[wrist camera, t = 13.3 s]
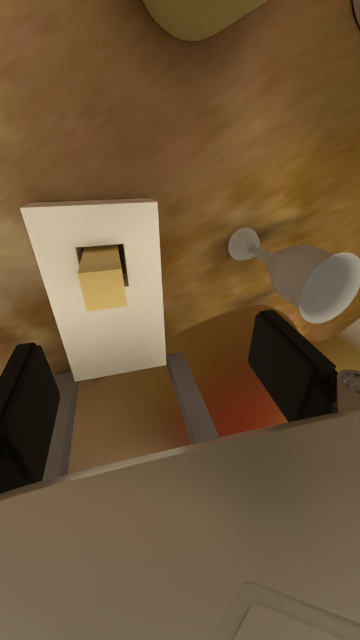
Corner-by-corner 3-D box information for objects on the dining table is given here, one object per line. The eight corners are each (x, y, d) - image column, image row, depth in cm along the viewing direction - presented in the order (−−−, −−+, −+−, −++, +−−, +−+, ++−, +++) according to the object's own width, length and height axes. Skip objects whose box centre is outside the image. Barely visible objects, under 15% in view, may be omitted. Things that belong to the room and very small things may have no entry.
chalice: (260, 264, 41) (349, 317, 26) (221, 269, 40) (292, 328, 25) (265, 217, 37) (373, 247, 23) (223, 221, 36) (308, 257, 21)
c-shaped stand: (37, 323, 37) (-139, 726, 10) (181, 304, 41) (322, 545, 15) (60, 387, 43) (-9, 729, 17) (182, 364, 48) (280, 604, 21)
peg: (85, 242, 33) (77, 273, 23) (116, 240, 34) (121, 269, 24) (91, 271, 35) (86, 311, 25) (120, 268, 36) (127, 306, 26)
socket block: (31, 202, 29) (20, 207, 25) (150, 197, 32) (157, 201, 28) (77, 360, 42) (75, 381, 37) (160, 346, 45) (166, 364, 40)
